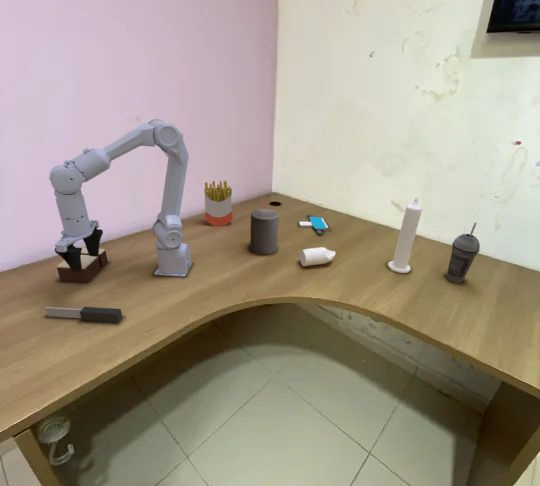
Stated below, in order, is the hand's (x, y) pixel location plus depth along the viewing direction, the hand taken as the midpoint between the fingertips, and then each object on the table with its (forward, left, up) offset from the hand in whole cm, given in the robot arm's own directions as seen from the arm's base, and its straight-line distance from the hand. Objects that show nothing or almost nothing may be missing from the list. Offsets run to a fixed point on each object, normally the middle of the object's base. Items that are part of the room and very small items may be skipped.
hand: (85, 263), depth 81 cm
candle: (-91, -22, -9) cm, 95 cm away
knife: (-4, +11, -9) cm, 15 cm away
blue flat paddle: (-65, -54, -9) cm, 86 cm away
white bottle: (-64, -22, -9) cm, 69 cm away
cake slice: (+8, -14, -9) cm, 18 cm away
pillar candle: (-45, -30, -9) cm, 55 cm away
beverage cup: (-107, -17, -9) cm, 109 cm away
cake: (+8, -7, -9) cm, 14 cm away
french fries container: (-25, -50, -9) cm, 57 cm away
